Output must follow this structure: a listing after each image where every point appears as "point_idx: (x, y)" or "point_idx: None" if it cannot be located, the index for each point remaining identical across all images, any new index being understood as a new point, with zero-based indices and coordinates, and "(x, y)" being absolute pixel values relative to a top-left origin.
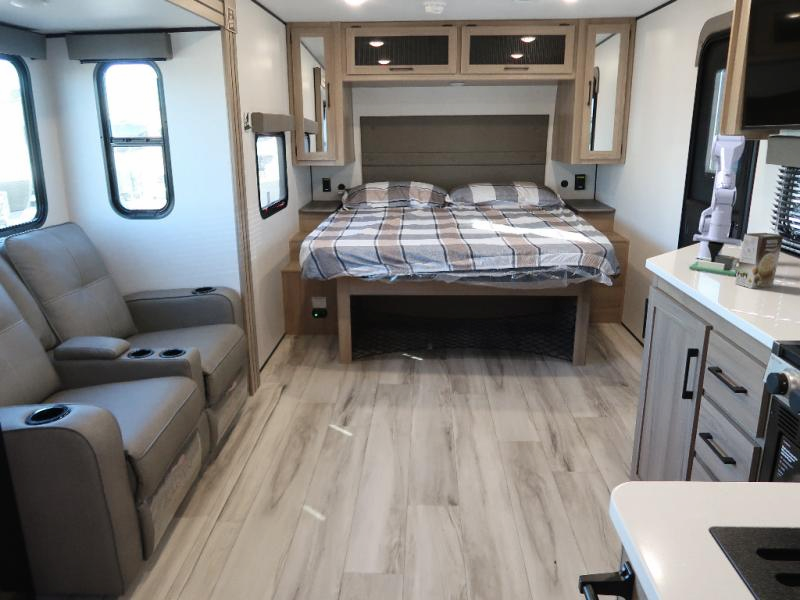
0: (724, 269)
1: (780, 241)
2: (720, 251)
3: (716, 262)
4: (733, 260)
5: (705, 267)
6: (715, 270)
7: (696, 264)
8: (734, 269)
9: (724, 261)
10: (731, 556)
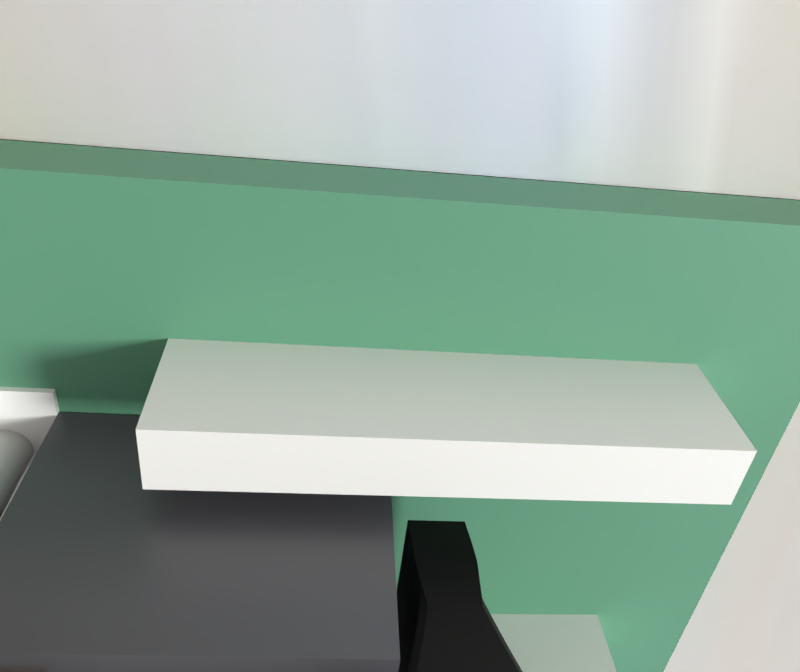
0: None
1: None
2: None
3: (347, 517)
4: None
5: (540, 359)
6: (308, 218)
7: (697, 504)
8: (5, 510)
9: (156, 557)
10: None
